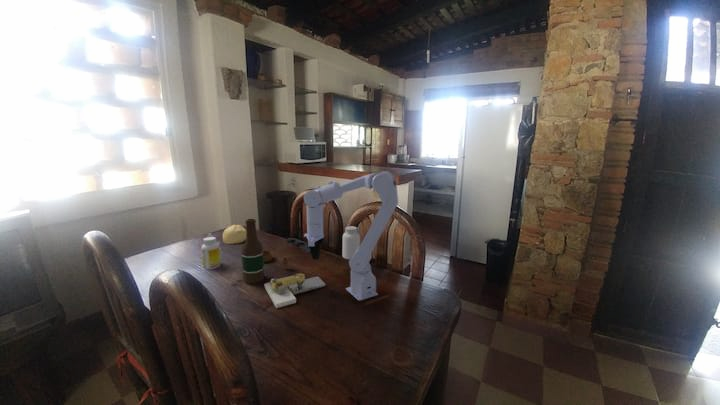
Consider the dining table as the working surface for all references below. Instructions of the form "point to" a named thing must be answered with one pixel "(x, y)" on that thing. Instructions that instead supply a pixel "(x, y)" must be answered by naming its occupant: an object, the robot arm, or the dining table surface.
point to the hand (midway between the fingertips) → (315, 258)
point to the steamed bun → (234, 234)
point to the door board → (280, 295)
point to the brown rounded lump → (268, 257)
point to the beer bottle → (252, 255)
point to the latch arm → (287, 281)
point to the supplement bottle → (210, 253)
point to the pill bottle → (350, 242)
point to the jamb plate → (307, 285)
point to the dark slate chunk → (298, 242)
